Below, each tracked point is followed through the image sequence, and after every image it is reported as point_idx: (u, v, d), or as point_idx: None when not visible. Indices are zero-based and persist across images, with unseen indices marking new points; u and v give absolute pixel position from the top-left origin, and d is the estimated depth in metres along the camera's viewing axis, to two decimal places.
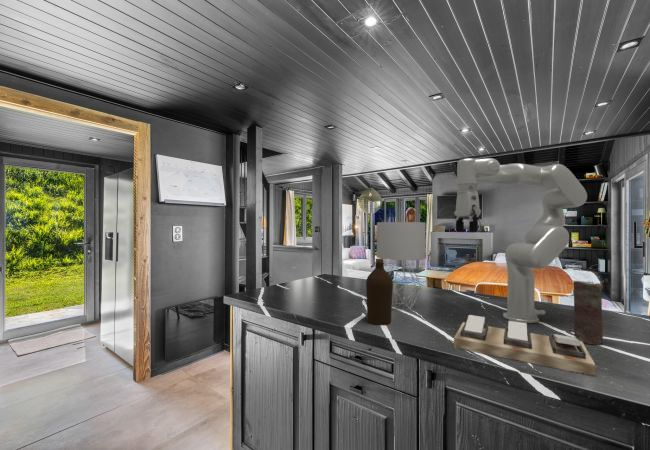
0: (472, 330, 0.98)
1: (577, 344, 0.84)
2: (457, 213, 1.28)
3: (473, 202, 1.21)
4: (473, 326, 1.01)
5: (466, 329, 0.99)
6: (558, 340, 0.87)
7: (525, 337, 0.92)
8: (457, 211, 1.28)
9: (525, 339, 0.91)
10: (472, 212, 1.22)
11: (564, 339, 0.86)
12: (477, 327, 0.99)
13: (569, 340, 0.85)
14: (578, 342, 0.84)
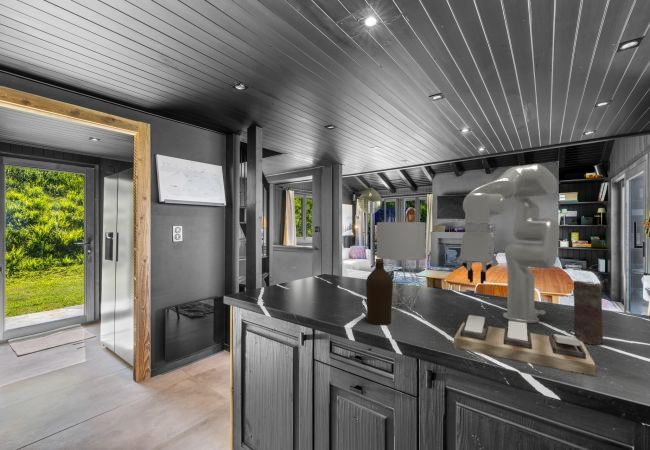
0: (472, 330, 0.98)
1: (577, 344, 0.84)
2: (466, 257, 1.06)
3: (493, 246, 1.03)
4: (473, 326, 1.01)
5: (466, 329, 0.99)
6: (558, 340, 0.87)
7: (525, 337, 0.92)
8: (466, 254, 1.06)
9: (525, 339, 0.91)
10: None
11: (564, 339, 0.86)
12: (477, 327, 0.99)
13: (569, 340, 0.85)
14: (578, 342, 0.84)
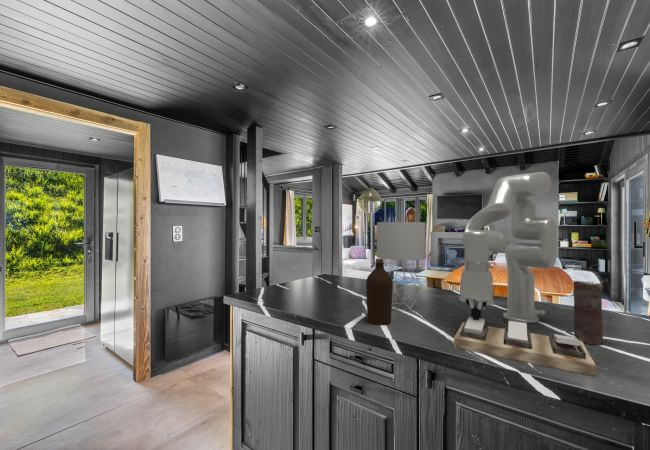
0: (472, 328, 0.98)
1: (577, 344, 0.84)
2: (465, 294, 1.06)
3: (492, 284, 1.04)
4: (473, 325, 1.01)
5: (466, 327, 0.99)
6: (558, 340, 0.87)
7: (525, 337, 0.92)
8: (465, 292, 1.06)
9: (525, 339, 0.91)
10: None
11: (564, 339, 0.86)
12: (478, 326, 1.00)
13: (569, 340, 0.85)
14: (578, 342, 0.84)
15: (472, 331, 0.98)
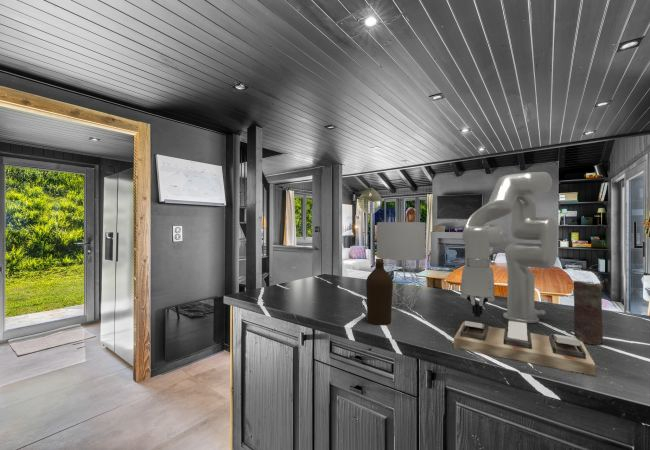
0: (472, 322, 0.99)
1: (577, 344, 0.84)
2: (466, 291, 1.06)
3: (493, 280, 1.04)
4: None
5: (466, 321, 1.00)
6: (558, 340, 0.87)
7: (525, 337, 0.92)
8: (466, 289, 1.06)
9: (525, 339, 0.91)
10: None
11: (564, 339, 0.86)
12: None
13: (569, 340, 0.85)
14: (578, 342, 0.84)
15: (472, 324, 0.98)
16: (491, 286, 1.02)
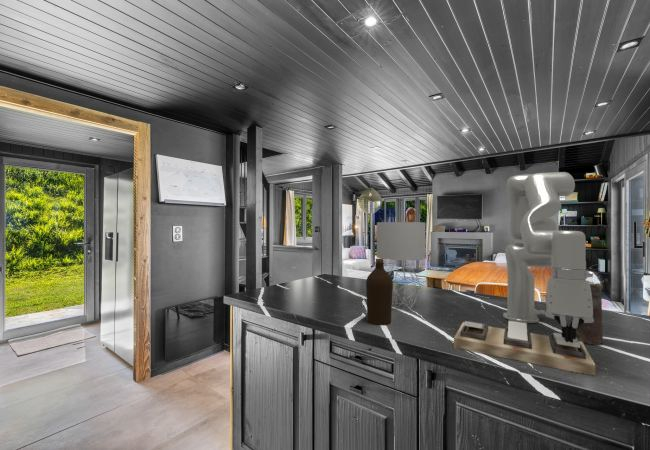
0: (472, 322, 0.99)
1: (577, 346, 0.84)
2: (555, 309, 0.86)
3: None
4: None
5: (466, 321, 1.00)
6: (558, 342, 0.86)
7: (525, 337, 0.92)
8: (555, 306, 0.86)
9: (525, 339, 0.91)
10: None
11: (564, 341, 0.86)
12: None
13: (569, 342, 0.85)
14: (578, 344, 0.84)
15: (472, 325, 0.98)
16: (590, 304, 0.82)
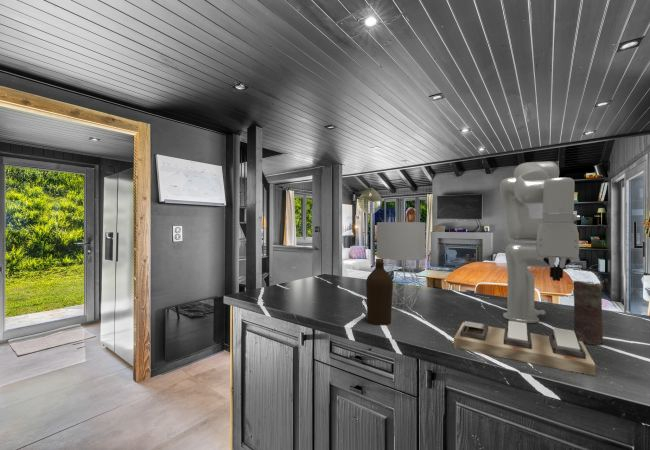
0: (472, 322, 0.99)
1: None
2: (544, 251, 0.92)
3: None
4: None
5: (466, 321, 1.00)
6: None
7: (525, 337, 0.92)
8: (545, 249, 0.92)
9: (525, 339, 0.91)
10: None
11: (564, 347, 0.86)
12: None
13: (569, 348, 0.85)
14: (578, 350, 0.84)
15: (472, 325, 0.98)
16: (577, 244, 0.88)
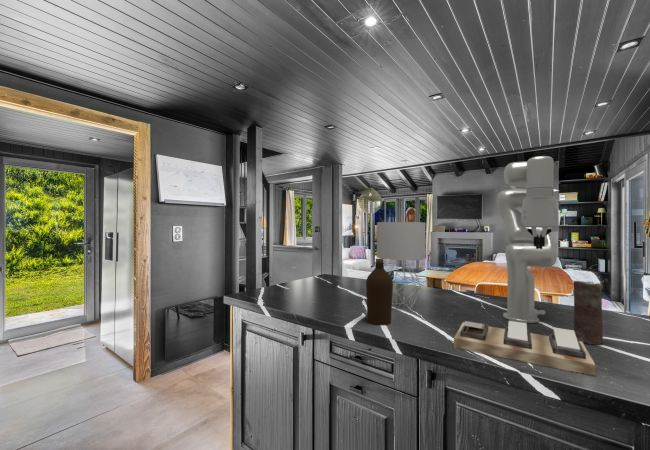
0: (472, 322, 0.99)
1: None
2: (528, 222, 1.03)
3: None
4: None
5: (466, 321, 1.00)
6: None
7: (525, 337, 0.92)
8: (528, 220, 1.03)
9: (525, 339, 0.91)
10: None
11: (564, 347, 0.86)
12: None
13: (569, 348, 0.85)
14: (578, 350, 0.84)
15: (472, 325, 0.98)
16: (556, 215, 0.99)
